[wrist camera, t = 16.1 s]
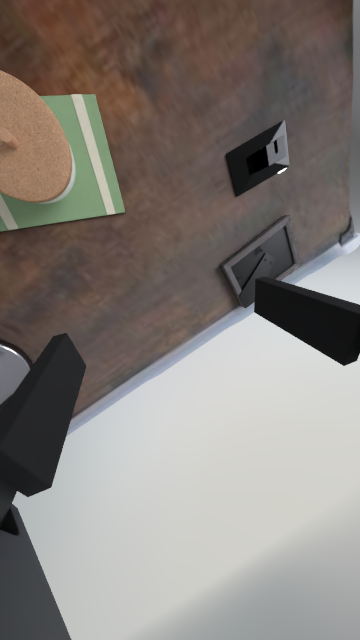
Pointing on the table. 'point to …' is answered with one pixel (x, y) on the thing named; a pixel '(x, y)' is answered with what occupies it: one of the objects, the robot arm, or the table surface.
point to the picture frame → (262, 260)
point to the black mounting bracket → (259, 158)
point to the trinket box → (32, 147)
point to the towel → (91, 171)
